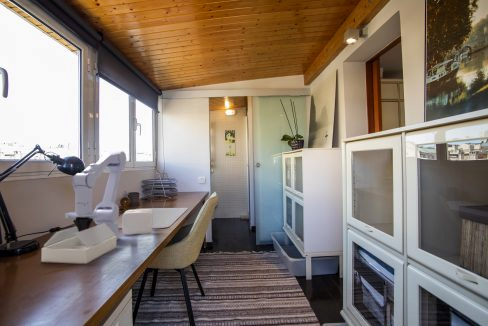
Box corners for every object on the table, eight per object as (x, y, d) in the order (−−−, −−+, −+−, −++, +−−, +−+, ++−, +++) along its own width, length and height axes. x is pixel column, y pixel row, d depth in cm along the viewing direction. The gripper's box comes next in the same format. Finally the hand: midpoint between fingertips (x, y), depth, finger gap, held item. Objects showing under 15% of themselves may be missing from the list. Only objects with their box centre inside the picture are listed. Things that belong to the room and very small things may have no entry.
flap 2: (104, 223, 108) (104, 222, 108) (114, 235, 107) (115, 234, 107) (74, 233, 92) (75, 233, 92) (87, 248, 91) (88, 247, 91)
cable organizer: (120, 235, 126) (120, 213, 126) (124, 230, 137) (124, 209, 137) (151, 233, 130) (151, 211, 130) (153, 228, 140) (153, 208, 141)
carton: (78, 246, 110) (78, 234, 110) (116, 247, 108) (116, 236, 108) (41, 261, 92) (41, 248, 92) (86, 263, 90) (86, 250, 90)
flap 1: (56, 233, 92) (55, 232, 92) (44, 246, 93) (43, 245, 93) (88, 223, 109) (87, 222, 109) (77, 234, 109) (77, 233, 109)
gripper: (59, 203, 97) (58, 238, 97) (93, 204, 95) (93, 239, 95) (73, 201, 104) (72, 233, 104) (105, 201, 103) (105, 234, 102)
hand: (83, 235), depth 100 cm, fingers closed
